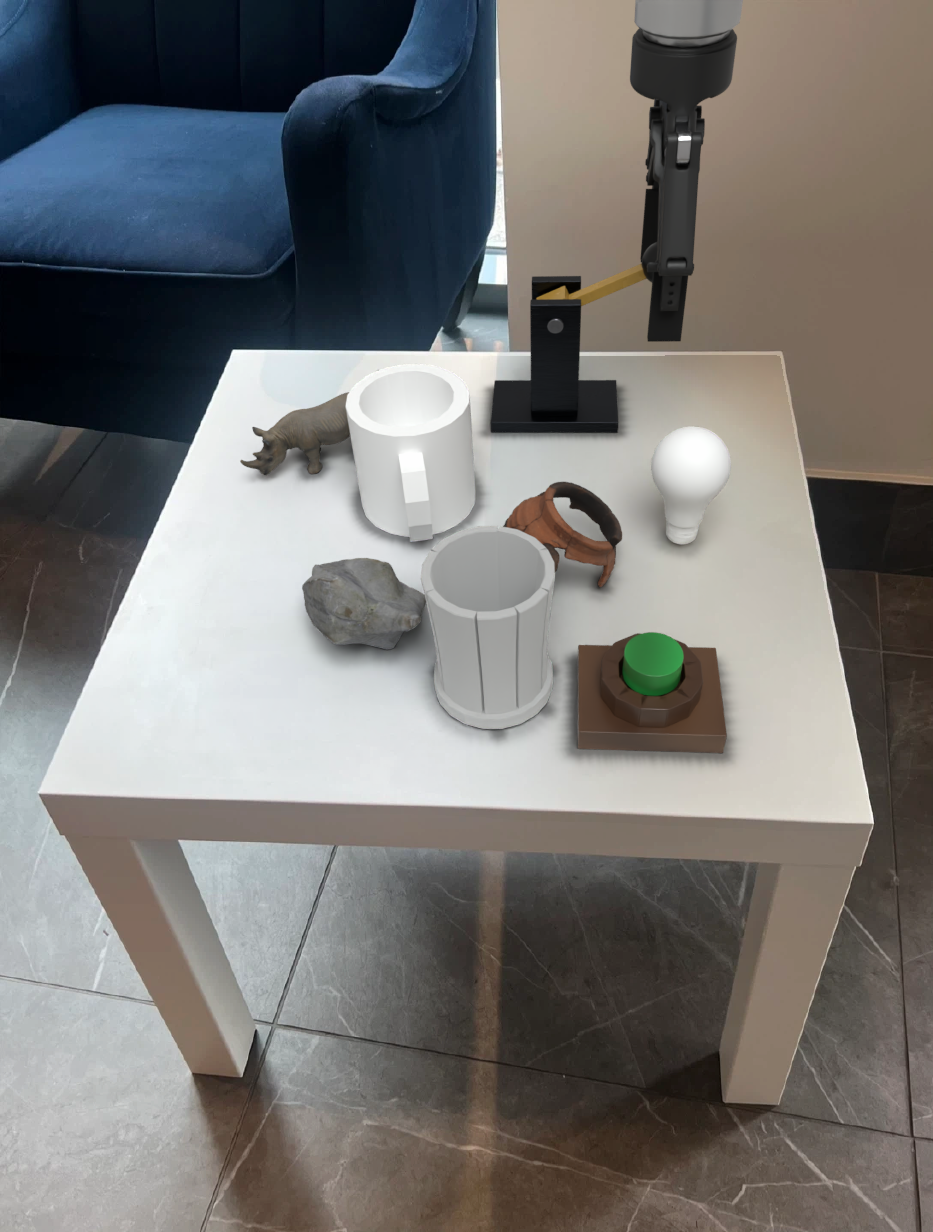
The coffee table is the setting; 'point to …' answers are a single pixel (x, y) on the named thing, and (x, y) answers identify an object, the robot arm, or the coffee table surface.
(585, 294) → the switch lever
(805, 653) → the coffee table surface
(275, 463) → the rhino figurine
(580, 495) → the broken clay pot
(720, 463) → the lightbulb
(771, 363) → the coffee table surface
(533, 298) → the switch bracket
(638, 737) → the button block
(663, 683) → the light button
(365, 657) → the coffee table surface
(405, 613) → the fossil
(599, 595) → the coffee table surface
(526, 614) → the cup
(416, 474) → the mug
